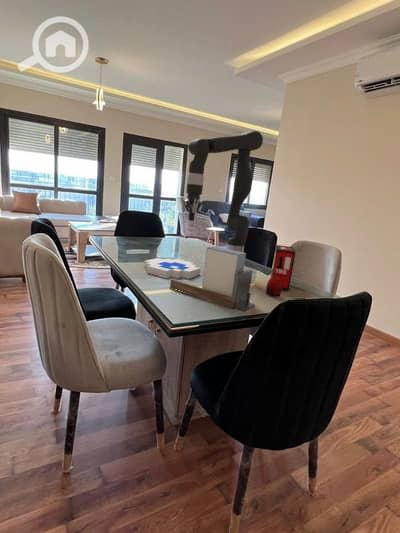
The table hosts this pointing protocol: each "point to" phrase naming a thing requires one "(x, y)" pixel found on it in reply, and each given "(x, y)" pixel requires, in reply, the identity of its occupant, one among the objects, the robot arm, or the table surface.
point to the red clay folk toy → (274, 286)
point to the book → (222, 269)
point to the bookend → (241, 290)
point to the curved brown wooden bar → (204, 293)
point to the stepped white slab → (171, 268)
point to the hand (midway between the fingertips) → (191, 220)
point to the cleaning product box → (283, 265)
